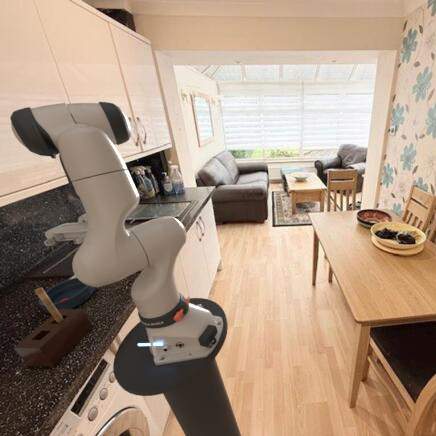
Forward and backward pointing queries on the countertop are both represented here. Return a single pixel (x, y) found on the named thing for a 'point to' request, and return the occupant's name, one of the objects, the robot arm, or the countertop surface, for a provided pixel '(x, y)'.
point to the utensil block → (54, 338)
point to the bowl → (68, 294)
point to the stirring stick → (49, 304)
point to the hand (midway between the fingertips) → (61, 243)
